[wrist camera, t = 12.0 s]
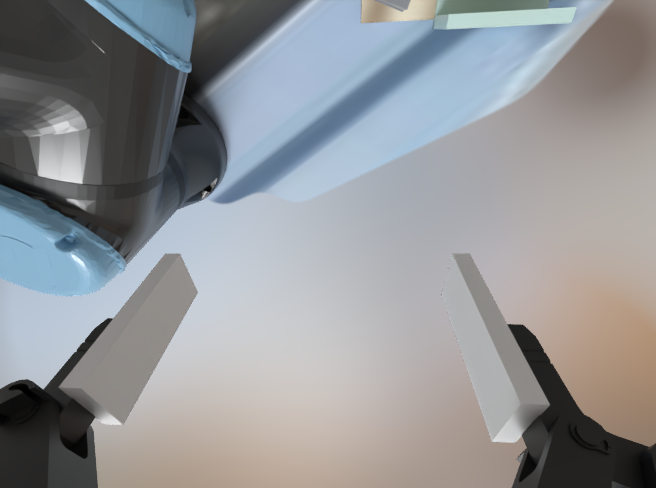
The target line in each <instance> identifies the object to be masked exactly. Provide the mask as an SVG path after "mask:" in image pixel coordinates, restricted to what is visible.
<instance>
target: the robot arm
mask: <svg viewBox="0 0 656 488" xmlns="http://www.w3.org/2000/svg"><path fill="white" fill-rule="evenodd" d="M196 17H197V14H196V6H195V2H194V0H0V278H2V279H4V280H6V281H8V282H11V283H13V284H16V285H19V286H22V287H25V288H28V289H31V290H34V291H38V292H42V293H46V294H51V295H58V296H74V295H76V296H77V295H78V296H81V295H87V294H90V293H93V292H96V291H98V290H100V289H101V288H103V287H104V286H105V285H106V284H107V283H108V282H109V281H111V280H112V279H113V278H114V277H115V276H116V275H117V274H119V273H121V272H123V271H124V270H125V267H126V265H127V264H128V263H129V262H130V261H131V260H132V258H133V257H134V256H135V255H136V254H137V253H138V252H139V251H140V250H141V249H142V248H143V246H144V245H145V244H146V243H147V242H148V241H149V240H150V239H151V238H152V237H153V235H154V234H155V233H156V232H157V231H158V230H159V229H160V228H161V227H162V226H163V225H164V223H165V222H166V221H167V220H168V219H169V218H170V217H171V216H172V215H173V214H174V212H175V211H176V210H177V209H180V208H183V207H186V206H188V205H191V204H194V203H196V202H199V201H201V200H203V199H205V198H206V197H208V196H209V195H210V194H211V193H212V192H213V191H214V190H215V189H216V187H217V186H218V185H219V184H220V182H221V181H222V179H223V177H224V174H225V171H226V165H227V156H226V149H225V145H224V141H223V139H222V136H221V134H220V132H219V130H218V128H217V126H216V125H215V123H214V122H213V120H212V119H211V117H210V116H209V115H208V114H207V113H206V111H205V110H204V109H203V108H202V107H201V106H200V105H198V104H197V103H196V102H195V101H194V100H192V99H191V98H190V97H188V96H187V95H185V94H183V93H184V88H185V84H186V79H187V75H188V73H190V72H191V69H192V64H191V62H190V56H191V49H192V43H193V37H194V31H195V25H196ZM196 295H197V289H196V287H195V285H194V283H193V281H192V279H191V277H190V274H189V272H188V270H187V268H186V266H185V263H184V261H183V259H182V257H181V255H180V254H165V255H164V256H163V257H162V258H161V260H160V261H159V262H158V264H157V265H156V266H155V267H154V268H153V270H152V271H151V273H149V275H148V276H147V277H146V279H145V280H144V281H143V282H142V283H141V285H140V286H139V287H138V289H137V290H136V291H135V292H134V293H133V295H132V296H131V297H130V298H129V300H128V301H127V302H126V303H125V305H124V306H123V307H122V308H121V310H120V311H119V312H118V314H117V315H116V316H115V317H114V318H113V319H111V318H108V319H106V320H105V321H104V322H102V323H101V324H100V325H99V326H97V327H96V328H95V329H94V330H93V331H92V332H91V333H90V335H89V336H88V337H87V338H86V340H85V342H84V343H82V344H81V345H80V347H79V348H78V349H77V352H75V353H74V354H73V355H72V356H71V357H70V359H69V360H68V361H67V362H66V363H65V365H64V366H63V367H62V368H61V369H60V371H59V372H58V373H57V374H56V375H55V376H54V378H53V379H52V380H51V381H50V382H49V384H48V385H47V386H46V387H45V388H44V389H42V388H40V387H39V386H38V385H36V384H35V383H34V382H32V381H30V380H28V379H27V380H19V381H16V382H13V383H10V384H8V385H7V386H5V387H3V388H2V389H0V488H98V484H97V471H96V457H95V445H94V432H93V429H92V427H91V426H90V424H91V423H92V421H93V420H94V418H95V417H96V418H97V419H98V420H99V421H100V422H102V423H103V424H112V425H114V424H115V425H123V424H124V423H125V421H126V419H127V417H128V416H129V414H130V412H131V410H132V408H133V407H134V405H135V403H136V401H137V400H138V398H139V396H140V394H141V392H142V391H143V389H144V387H145V385H146V384H147V382H148V380H149V378H150V376H151V375H152V373H153V371H154V369H155V368H156V366H157V364H158V362H159V360H160V358H161V357H162V355H163V353H164V352H165V350H166V348H167V346H168V344H169V343H170V341H171V339H172V337H173V336H174V334H175V332H176V330H177V329H178V327H179V325H180V323H181V321H182V320H183V318H184V316H185V314H186V313H187V311H188V309H189V307H190V305H191V304H192V302H193V300H194V298H195V297H196ZM441 296H442V298H443V302H444V305H445V307H446V310H447V313H448V316H449V319H450V322H451V325H452V327H453V331H454V333H455V336H456V339H457V342H458V345H459V348H460V351H461V354H462V357H463V360H464V362H465V366H466V368H467V371H468V374H469V377H470V380H471V383H472V386H473V388H474V391H475V395H476V397H477V400H478V403H479V406H480V409H481V412H482V415H483V418H484V420H485V423H486V426H487V429H488V432H489V435H490V438H491V441H492V442H511V443H516V442H517V440H518V439H519V438H520V437H521V436H522V437H523V439H524V442H525V444H526V446H527V448H526V449H525V450H524V451H523V452H522V453H521V454H520V456H519V457H518V458H517V460H518V461H519V462H521V463H520V466H519V469H518V472H517V475H516V478H515V480H514V483H513V486H512V488H656V444H654V445H652V446H650V447H648V446H644V445H642V444H639V443H636V442H633V441H630V440H627V439H624V438H621V437H618V436H616V435H613V434H611V433H609V432H606V431H605V430H604V429H603V428H602V426H601V425H599V424H598V423H597V422H595V421H594V420H592V419H591V418H590V417H588V416H586V415H584V414H583V413H582V412H581V410H580V409H579V407H578V406H577V404H576V403H575V401H574V400H573V398H572V396H571V395H570V393H569V391H568V390H567V388H566V386H565V385H564V383H563V381H562V379H561V378H560V376H559V374H558V373H557V371H556V369H555V368H554V366H553V364H551V363H550V359H549V358H548V356H547V355H546V353H544V350H543V348H542V346H541V345H540V343H539V341H538V340H537V338H536V336H535V335H533V334H532V333H531V332H530V331H529V330H528V329H527V328H526V327H525V326H524V325H513V324H507V323H506V321H505V319H504V317H503V315H502V314H501V312H500V310H499V308H498V306H497V304H496V302H495V300H494V299H493V297H492V295H491V293H490V291H489V289H488V287H487V286H486V284H485V282H484V280H483V278H482V276H481V274H480V272H479V270H478V268H477V267H476V265H475V263H474V261H473V259H472V257H471V255H470V254H452V258H451V261H450V264H449V268H448V272H447V275H446V279H445V282H444V286H443V290H442V293H441Z"/></svg>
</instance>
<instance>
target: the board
mask: <svg viewBox="0 0 656 488" xmlns="http://www.w3.org/2000/svg"><path fill="white" fill-rule="evenodd" d="M436 1H437V0H411V1H410V3H409V6H408V9H407V10H404V11H403V12H400V11H398V10H396V9H393V8H391V7H389V6H386V5H384V4H381V3H379V2H377V1H374V0H361V23H374V22H392V21H411V20H429V19H434V15H435V8H436Z"/></svg>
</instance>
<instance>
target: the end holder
mask: <svg viewBox="0 0 656 488" xmlns="http://www.w3.org/2000/svg"><path fill="white" fill-rule="evenodd" d="M549 1H550V0H437V1H436V8H435V15H434V22H433V29H462V28H482V27H501V26H520V25H539V24H558V23H571V22H572V19H573V16H574V14H575V11H576V8H577V7H570V8H552V9H547V7H548V4H549Z"/></svg>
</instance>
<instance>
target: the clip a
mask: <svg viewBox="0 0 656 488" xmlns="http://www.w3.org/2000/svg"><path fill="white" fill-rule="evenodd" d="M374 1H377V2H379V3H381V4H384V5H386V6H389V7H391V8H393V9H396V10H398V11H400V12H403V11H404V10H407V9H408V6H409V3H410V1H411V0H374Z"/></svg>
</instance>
